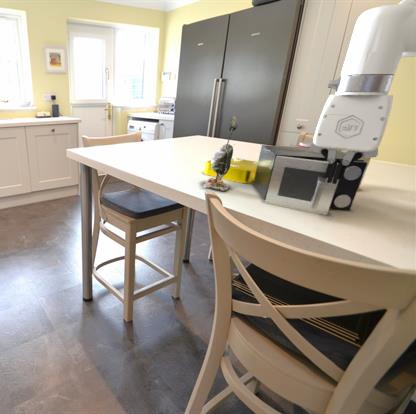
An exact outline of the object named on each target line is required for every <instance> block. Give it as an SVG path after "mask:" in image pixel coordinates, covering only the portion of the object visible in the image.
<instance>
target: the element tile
mask: <svg viewBox="0 0 416 414" xmlns="http://www.w3.org/2000/svg"><path fill="white" fill-rule="evenodd" d="M211 160H212V159H210V160H207V161H205V165H204V172H203V174H204V175H207V176H210V177H213V178H214V177H215V178H216V175H217V173H216V172H214V171H213V169H212V166H211ZM257 165H258V161H254V160H250V159H245V158H244V159H242V158H238V157H235V156H232V158H231V163H230V168H229V170H228V172H227V173H226V174H225V175H224V176H223V177H222V180H223V179H224V180H227V181H232V182H235V183H241V184H250V183H253V182H254V178H255V174H256V169H257Z"/></svg>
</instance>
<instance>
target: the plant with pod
mask: <svg viewBox="0 0 416 414" xmlns="http://www.w3.org/2000/svg"><path fill="white" fill-rule="evenodd" d="M238 126H239V123H238V119H237V118H236V116H235V115H233V116H231V117H230V118H229V124H228V131H229V137H228V140H227V143H225V144H223V145H221V146H220V147H219V148H218V149H217V150H216V151H215V152H214V153H213V155H212V157H211V159H210V160H211V166H212V169H213V171H214V172H216V173H217V175H216V177H215V178H214V177H209V178H208V179H207V180H204V181H203V182H201V185H203V186H202V187H203V189H206V188H213V189H215V190H219V191H220V192H224V191H227V190H228V189H230V185H228V184H227V183H225V182H224V181H223V178H222V177H223V176H224V175H225V174H226V173H227V172H228V170H229V168H230V163H231V158H232V157H233V154H234V147H233V146H235V144H234V143H233V145H232V144H230V140H231V136H232V134H233V132H234V131H236V130H237V128H238Z"/></svg>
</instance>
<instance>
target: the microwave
mask: <svg viewBox="0 0 416 414" xmlns="http://www.w3.org/2000/svg"><path fill="white" fill-rule="evenodd" d="M346 153H347V152H344V151H341V150H339V149H337V154H336V159H337V163H340V161H341V160H342V159H343V158H344V157H345V155H346ZM276 156H285V157H293V158H301V159H309V160H317V161H326V162H327V160H326V159H325V157H324V156H323V155H322V154H321V153H317V152H314V151H311V150H310V148H304V147H299V146H287V145H285V146H284V145H268V144H267V145H266V144H261V147H260V151H259V157H258V161H257V162H258V165H257V169H256V174H255V178H254V181H252V186H253V187H254V188H255V189H256V191H257V192H258V194H259V195H260V196H261V198H262V199H263V201H265V200H266V196H267V192H268V188H269V184H270V180H271V176H272V172H273V168H274V164H275V160H276ZM366 166H367V162H364V160H362V159H358V160H356V161H354V162H352V163H350V164H349V165H347V167H346V170H345V173H344V175H343V178H342V180H339V181H338V184H337V187H336V190H335V193H334V196H333V199H332V201H331V204H330V207H329V210H338V211H348V212H349V211H351V208H352V205H353V202H354V200H355V198H356V194H357V193H358V191H359V190H358V187H359V184H360V182H361V179H362V176H363V174H364V171H365V168H366ZM361 183H362V182H361ZM357 190H358V191H357Z"/></svg>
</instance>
